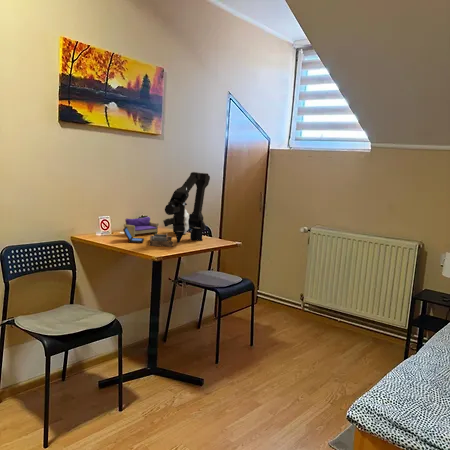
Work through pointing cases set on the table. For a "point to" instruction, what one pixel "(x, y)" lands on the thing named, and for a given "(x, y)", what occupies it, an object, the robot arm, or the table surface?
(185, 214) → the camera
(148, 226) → the toy sofa
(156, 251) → the table surface
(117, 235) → the table surface
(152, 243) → the bay
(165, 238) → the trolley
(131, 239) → the handheld game console
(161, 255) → the table surface
